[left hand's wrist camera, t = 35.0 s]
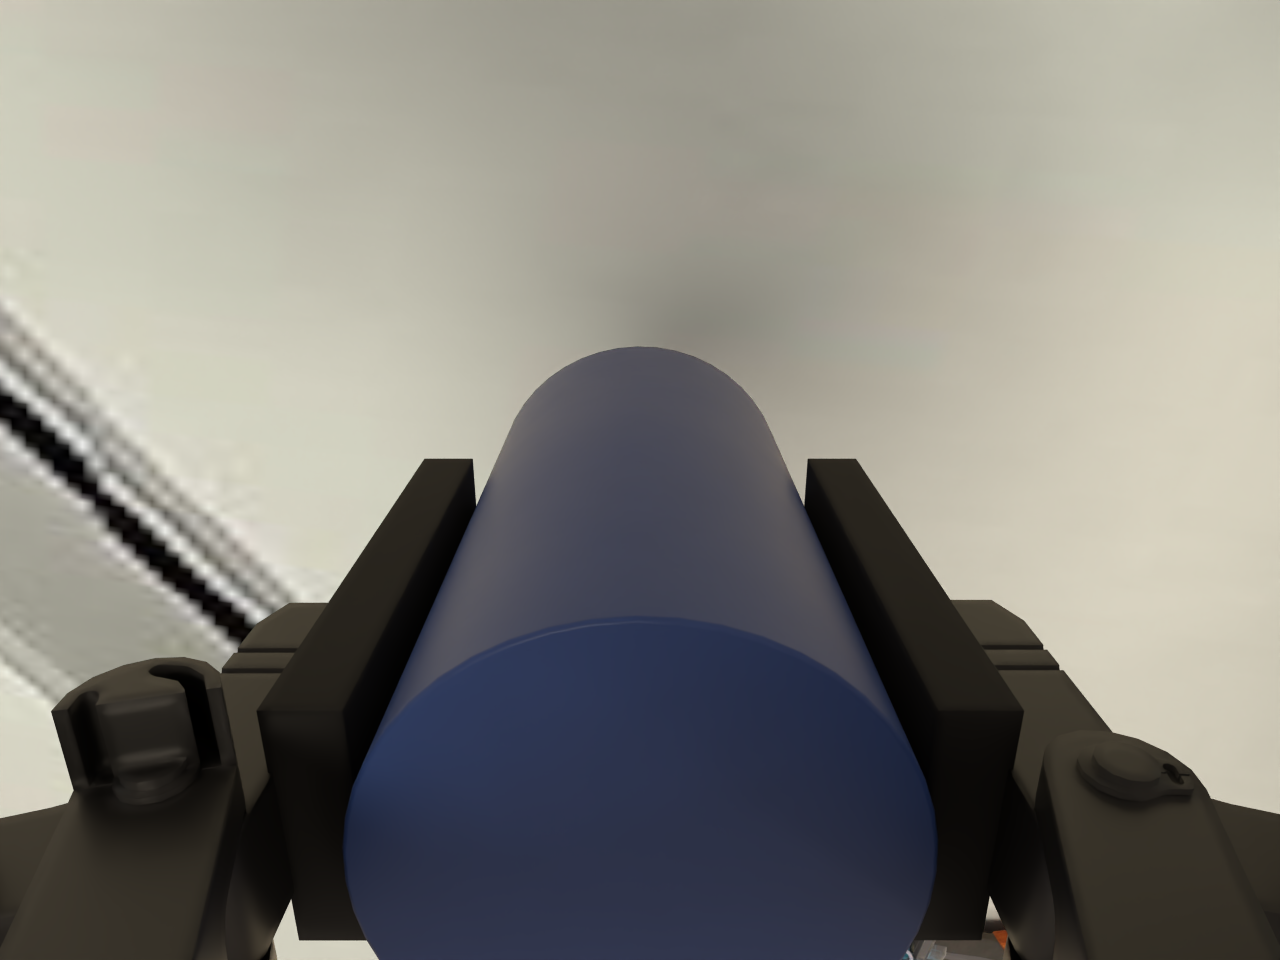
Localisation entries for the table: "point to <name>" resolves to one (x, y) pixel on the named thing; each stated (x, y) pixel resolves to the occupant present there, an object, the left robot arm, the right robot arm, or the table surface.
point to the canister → (640, 707)
